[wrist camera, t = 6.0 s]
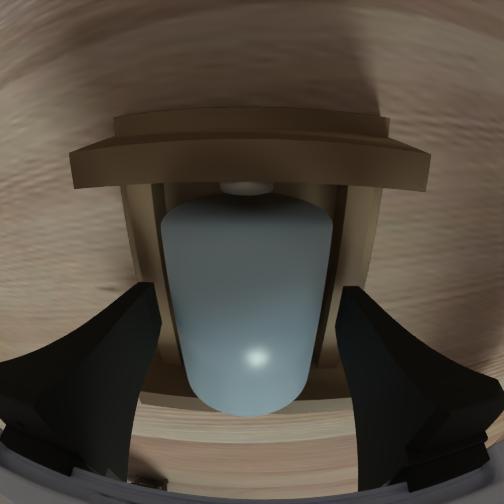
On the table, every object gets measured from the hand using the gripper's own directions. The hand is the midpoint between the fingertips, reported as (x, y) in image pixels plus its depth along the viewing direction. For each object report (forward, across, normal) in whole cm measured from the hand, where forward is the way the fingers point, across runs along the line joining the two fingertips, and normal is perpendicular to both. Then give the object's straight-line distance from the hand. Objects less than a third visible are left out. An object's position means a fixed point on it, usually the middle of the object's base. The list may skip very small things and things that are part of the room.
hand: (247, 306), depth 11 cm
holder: (+4, 0, 0) cm, 4 cm away
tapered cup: (+3, 0, 0) cm, 3 cm away
